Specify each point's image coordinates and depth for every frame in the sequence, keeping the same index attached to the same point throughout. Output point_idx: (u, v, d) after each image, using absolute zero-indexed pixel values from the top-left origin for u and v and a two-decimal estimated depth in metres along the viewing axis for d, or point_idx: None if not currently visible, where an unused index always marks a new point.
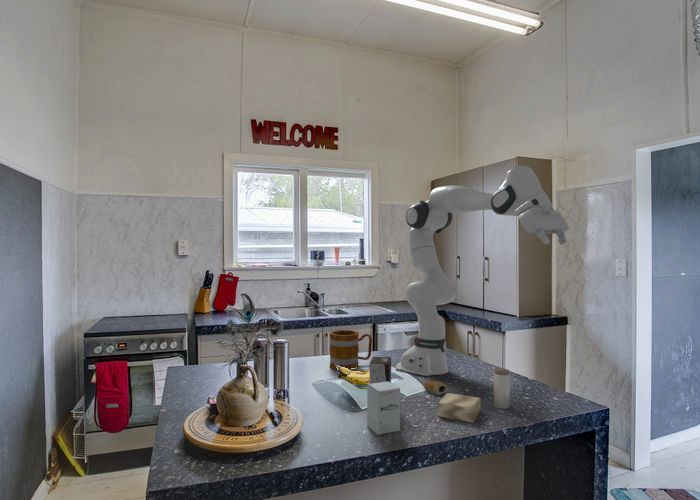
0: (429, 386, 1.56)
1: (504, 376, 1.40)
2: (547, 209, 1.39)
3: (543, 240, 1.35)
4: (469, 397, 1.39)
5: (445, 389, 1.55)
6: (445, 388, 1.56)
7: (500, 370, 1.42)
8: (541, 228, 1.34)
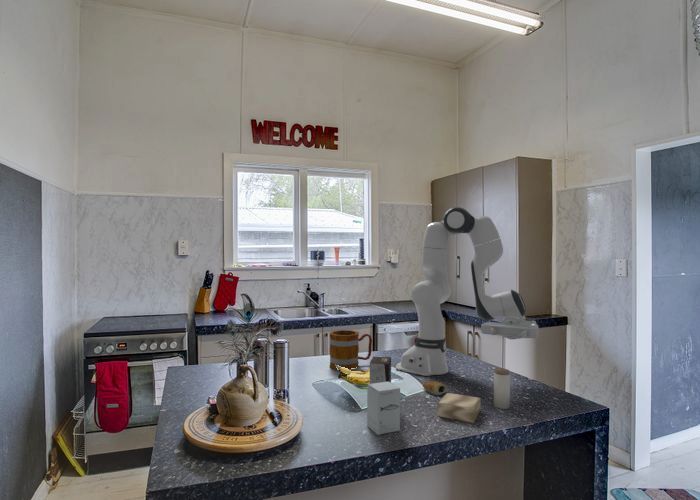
0: (428, 386, 1.56)
1: (504, 376, 1.40)
2: None
3: (523, 333, 1.52)
4: (469, 397, 1.39)
5: (444, 389, 1.55)
6: (444, 388, 1.55)
7: (500, 370, 1.42)
8: (527, 336, 1.55)
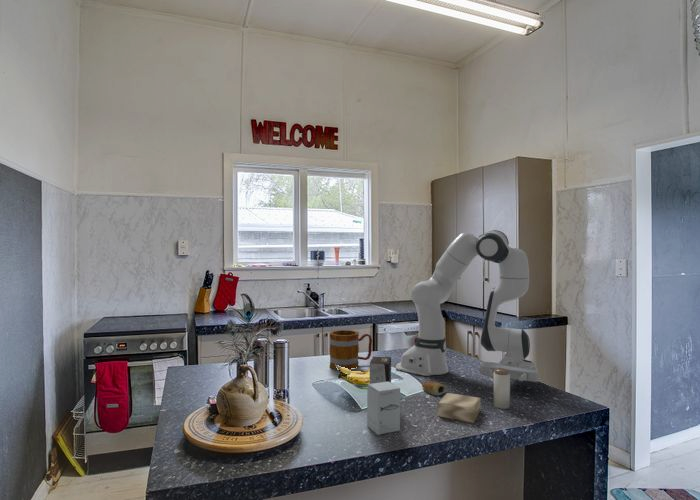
0: (428, 387, 1.55)
1: (504, 376, 1.40)
2: None
3: (522, 377, 1.50)
4: (469, 397, 1.39)
5: (444, 389, 1.55)
6: (444, 388, 1.55)
7: (500, 370, 1.42)
8: (526, 380, 1.53)
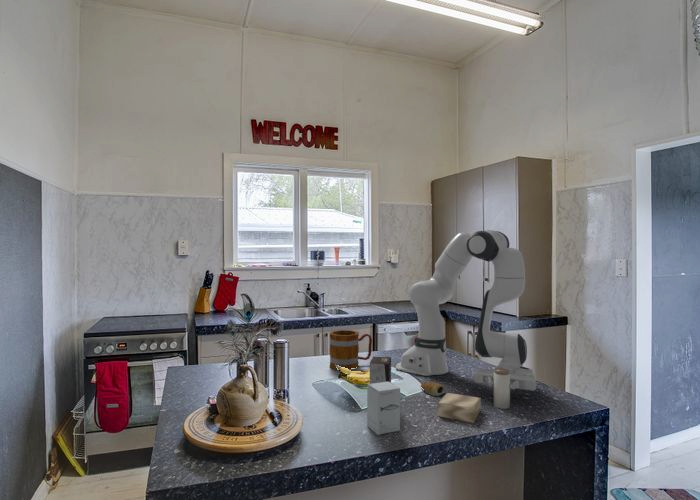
0: (427, 387, 1.55)
1: (504, 376, 1.40)
2: None
3: (514, 385, 1.41)
4: (469, 397, 1.39)
5: (443, 390, 1.55)
6: (443, 389, 1.55)
7: (500, 370, 1.42)
8: (523, 388, 1.43)
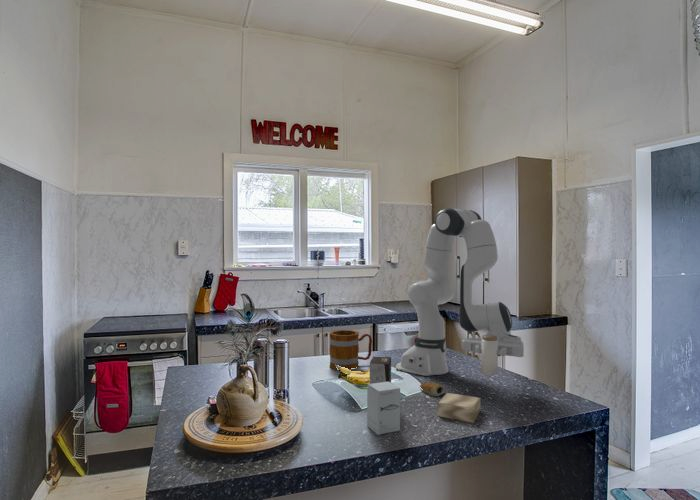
0: (427, 388, 1.55)
1: (492, 342, 1.38)
2: None
3: (502, 351, 1.39)
4: (469, 397, 1.39)
5: (442, 390, 1.54)
6: (442, 389, 1.54)
7: (488, 336, 1.40)
8: (510, 355, 1.41)
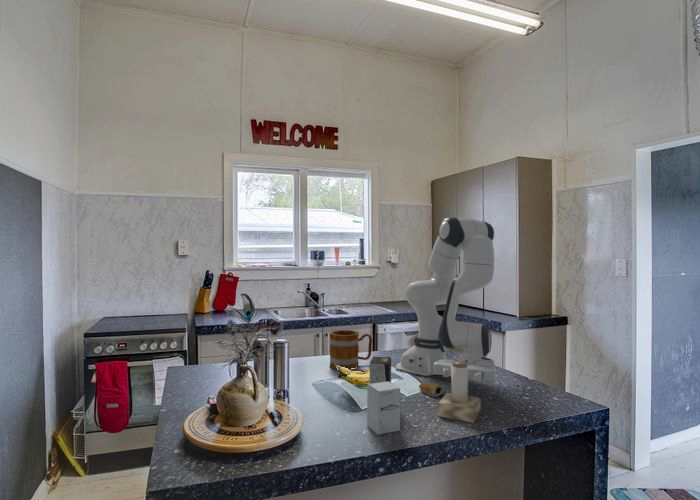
0: (425, 388, 1.54)
1: (461, 369, 1.34)
2: None
3: (476, 376, 1.34)
4: (469, 397, 1.39)
5: (441, 391, 1.54)
6: (441, 390, 1.54)
7: (458, 363, 1.36)
8: (482, 379, 1.37)
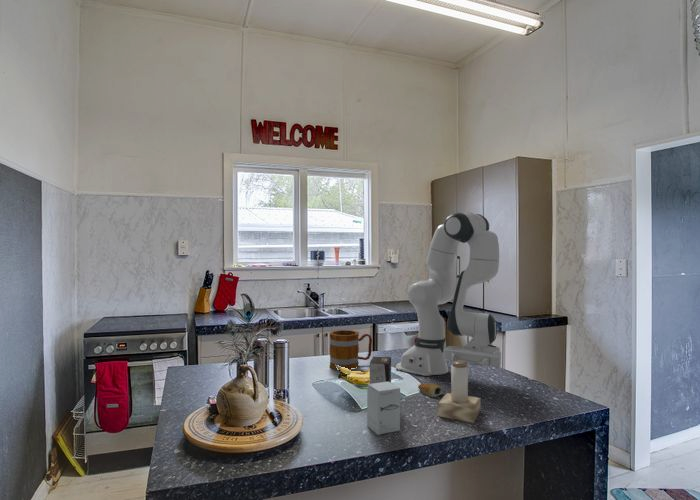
0: (424, 388, 1.54)
1: (461, 369, 1.34)
2: None
3: (484, 362, 1.46)
4: (469, 397, 1.39)
5: (440, 391, 1.53)
6: (440, 390, 1.54)
7: (458, 363, 1.36)
8: (488, 364, 1.49)
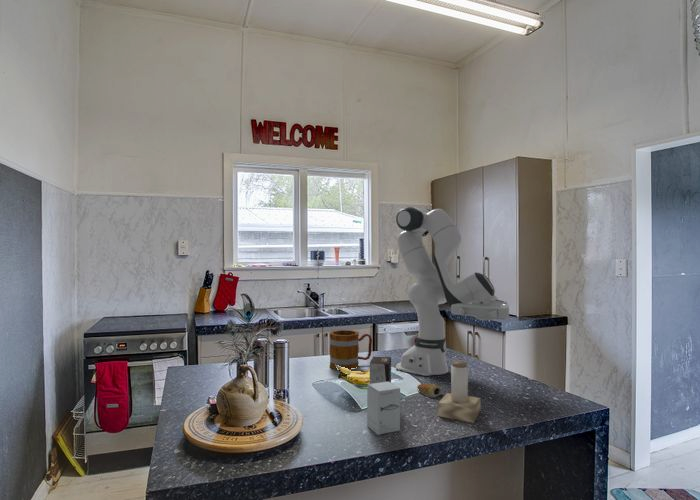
0: (424, 389, 1.53)
1: (461, 369, 1.34)
2: (483, 317, 1.58)
3: (492, 313, 1.47)
4: (469, 397, 1.39)
5: (440, 391, 1.53)
6: (440, 390, 1.53)
7: (458, 363, 1.36)
8: (496, 316, 1.50)
